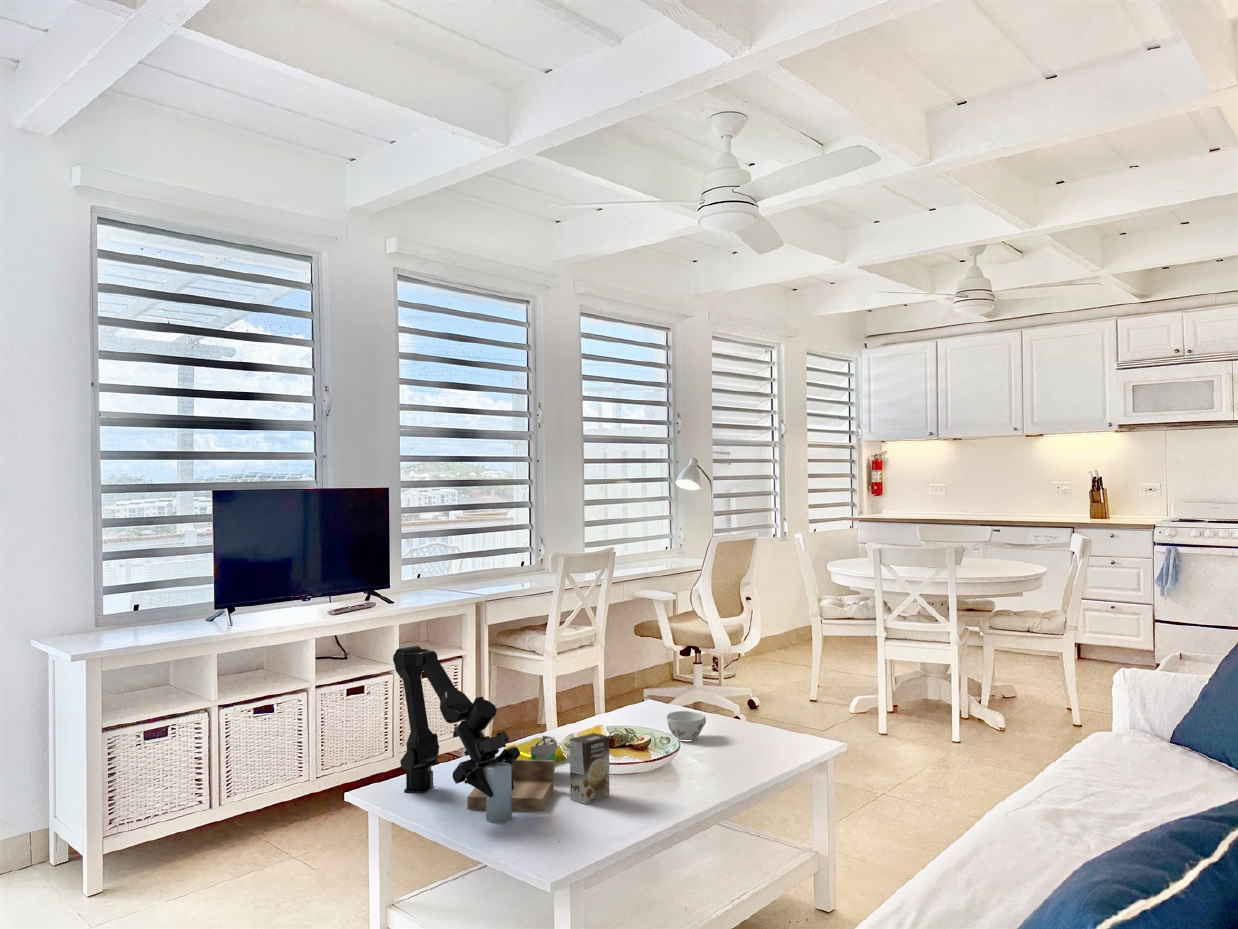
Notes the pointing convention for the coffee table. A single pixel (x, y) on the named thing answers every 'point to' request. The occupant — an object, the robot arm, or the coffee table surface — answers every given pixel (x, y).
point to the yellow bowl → (526, 746)
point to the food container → (545, 749)
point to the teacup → (685, 724)
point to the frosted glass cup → (499, 792)
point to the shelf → (523, 786)
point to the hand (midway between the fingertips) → (502, 793)
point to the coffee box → (589, 768)
